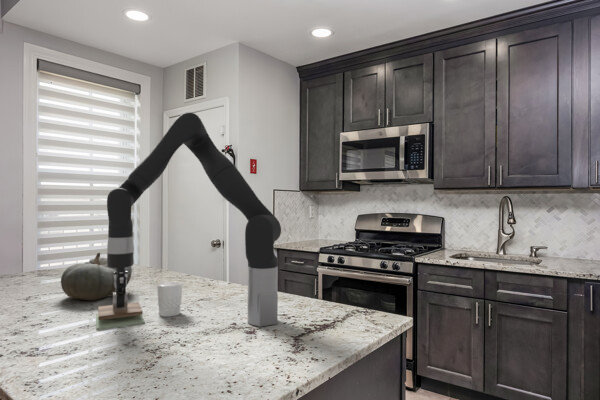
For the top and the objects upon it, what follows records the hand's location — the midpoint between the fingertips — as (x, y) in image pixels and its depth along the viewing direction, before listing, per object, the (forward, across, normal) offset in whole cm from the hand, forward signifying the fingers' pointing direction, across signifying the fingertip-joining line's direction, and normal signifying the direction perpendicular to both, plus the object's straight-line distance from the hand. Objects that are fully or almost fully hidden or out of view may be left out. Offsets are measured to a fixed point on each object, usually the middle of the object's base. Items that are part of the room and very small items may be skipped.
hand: (120, 305), depth 120 cm
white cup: (+5, -1, -15) cm, 16 cm away
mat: (+4, 0, 0) cm, 4 cm away
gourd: (+5, +36, +6) cm, 37 cm away
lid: (+2, 0, 0) cm, 2 cm away
